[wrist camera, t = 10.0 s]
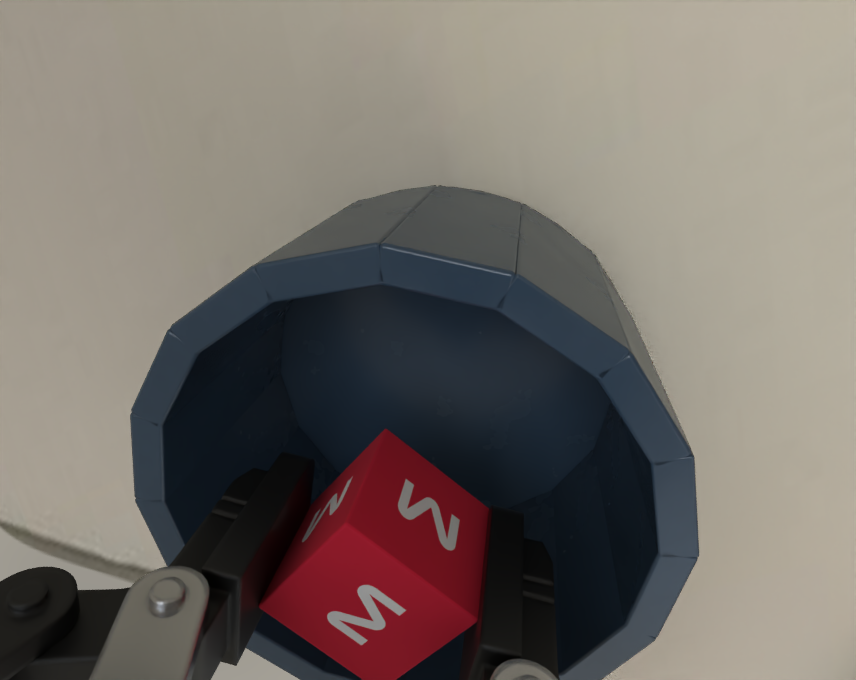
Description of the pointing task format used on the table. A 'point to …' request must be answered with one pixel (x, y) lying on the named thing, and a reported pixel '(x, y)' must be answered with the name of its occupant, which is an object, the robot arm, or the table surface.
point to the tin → (437, 405)
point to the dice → (383, 564)
